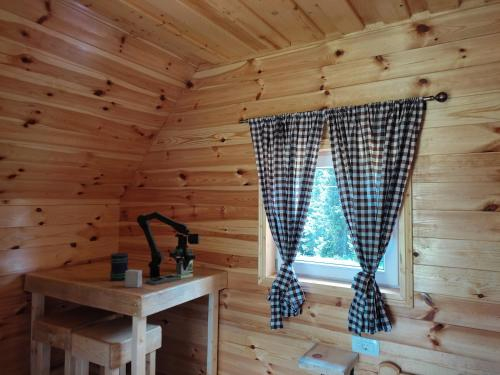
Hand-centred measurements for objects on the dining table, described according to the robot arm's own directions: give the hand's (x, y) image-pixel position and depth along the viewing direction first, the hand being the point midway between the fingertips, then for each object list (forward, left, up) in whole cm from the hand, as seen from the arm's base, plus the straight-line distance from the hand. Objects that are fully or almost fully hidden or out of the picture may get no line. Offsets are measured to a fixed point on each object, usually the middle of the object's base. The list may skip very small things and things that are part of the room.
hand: (182, 269), depth 225 cm
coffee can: (-12, +12, -4) cm, 18 cm away
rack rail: (+2, -15, -4) cm, 16 cm away
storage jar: (-21, -30, -4) cm, 37 cm away
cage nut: (0, 0, -2) cm, 2 cm away
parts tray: (0, 0, -4) cm, 4 cm away
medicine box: (0, -33, -5) cm, 34 cm away
